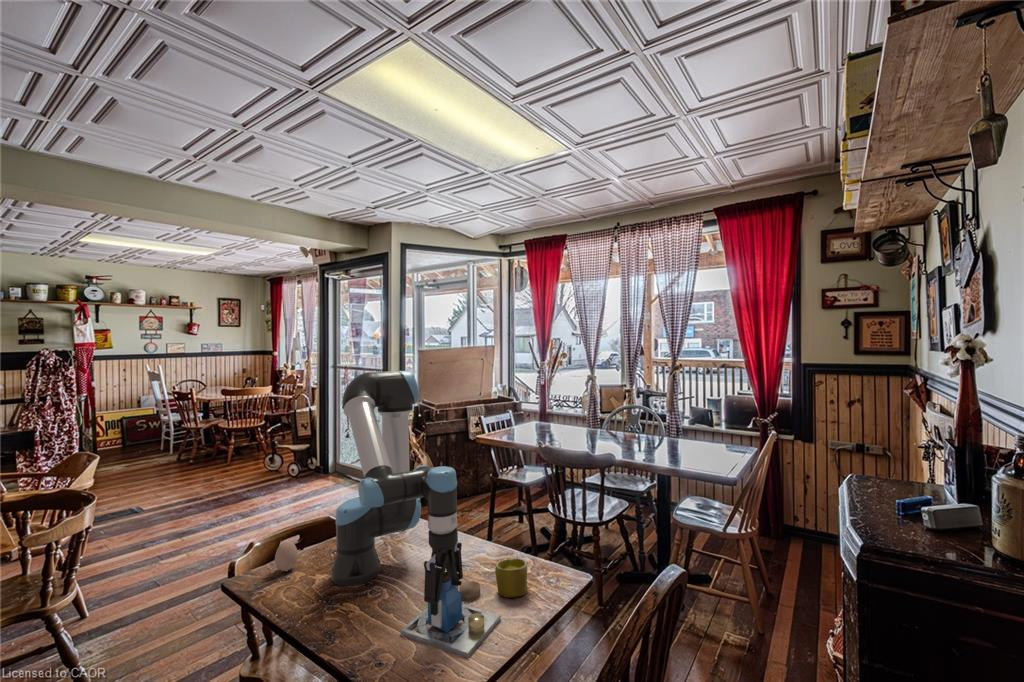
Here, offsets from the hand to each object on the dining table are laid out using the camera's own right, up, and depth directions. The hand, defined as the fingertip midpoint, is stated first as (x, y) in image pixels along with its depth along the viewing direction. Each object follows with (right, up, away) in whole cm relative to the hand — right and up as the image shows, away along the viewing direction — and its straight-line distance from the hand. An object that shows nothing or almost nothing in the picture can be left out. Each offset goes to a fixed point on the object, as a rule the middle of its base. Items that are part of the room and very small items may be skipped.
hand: (445, 617), depth 115 cm
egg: (-57, -4, +31) cm, 65 cm away
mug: (+18, -2, +17) cm, 24 cm away
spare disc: (+5, -2, +14) cm, 15 cm away
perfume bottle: (0, -1, 0) cm, 1 cm away
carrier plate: (+2, -2, -1) cm, 3 cm away
